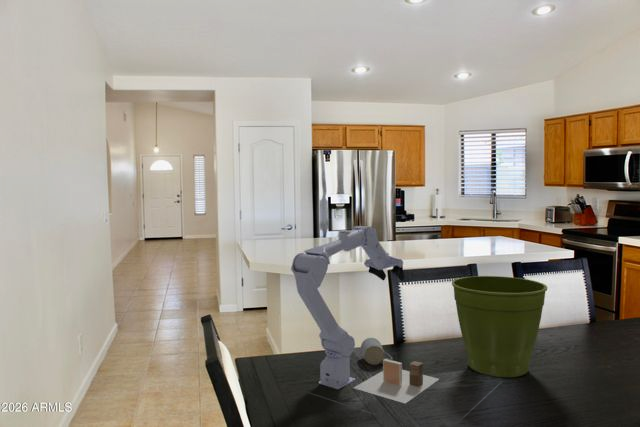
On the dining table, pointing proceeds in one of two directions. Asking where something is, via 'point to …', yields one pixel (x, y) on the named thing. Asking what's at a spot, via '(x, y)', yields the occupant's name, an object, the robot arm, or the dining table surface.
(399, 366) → the tile
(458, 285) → the plant pot
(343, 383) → the robot arm
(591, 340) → the dining table surface
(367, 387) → the mat
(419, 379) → the wooden block
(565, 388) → the dining table surface
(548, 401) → the dining table surface
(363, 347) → the ceramic mug
